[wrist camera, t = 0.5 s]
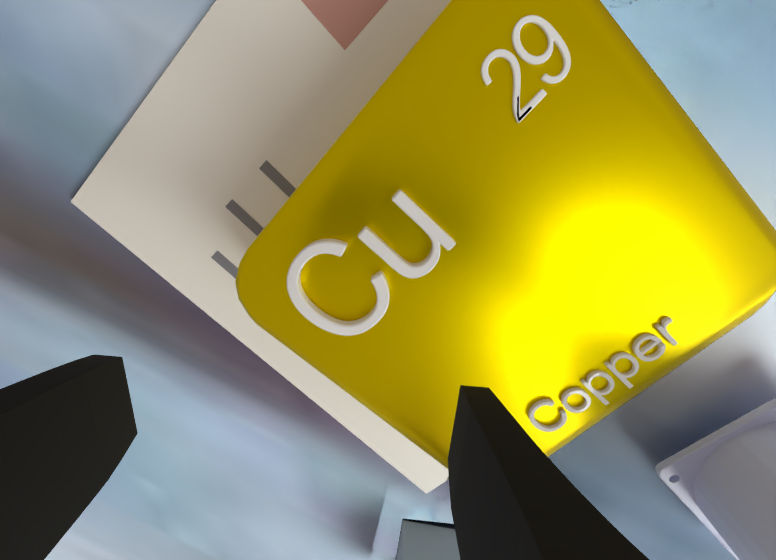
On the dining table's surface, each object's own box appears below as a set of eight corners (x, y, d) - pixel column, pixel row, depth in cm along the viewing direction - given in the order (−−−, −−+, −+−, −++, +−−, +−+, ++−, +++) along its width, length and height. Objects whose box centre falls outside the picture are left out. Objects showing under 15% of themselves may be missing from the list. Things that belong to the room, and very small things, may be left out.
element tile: (471, 434, 22) (490, 513, 17) (251, 257, 18) (202, 299, 14) (720, 243, 17) (832, 282, 13) (493, -34, 14) (537, -112, 9)
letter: (707, 306, 19) (711, 308, 18) (426, 490, 24) (426, 494, 23) (348, -177, 13) (347, -182, 13) (73, 200, 18) (70, 201, 18)
